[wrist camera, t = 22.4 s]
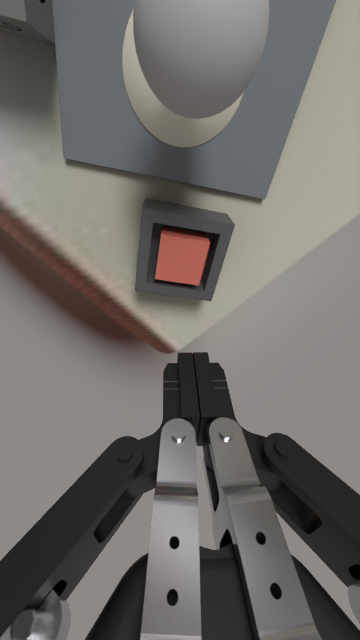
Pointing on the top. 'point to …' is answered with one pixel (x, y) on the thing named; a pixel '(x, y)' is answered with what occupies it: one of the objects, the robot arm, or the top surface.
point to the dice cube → (28, 19)
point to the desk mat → (161, 123)
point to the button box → (185, 219)
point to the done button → (181, 255)
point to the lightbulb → (199, 51)
